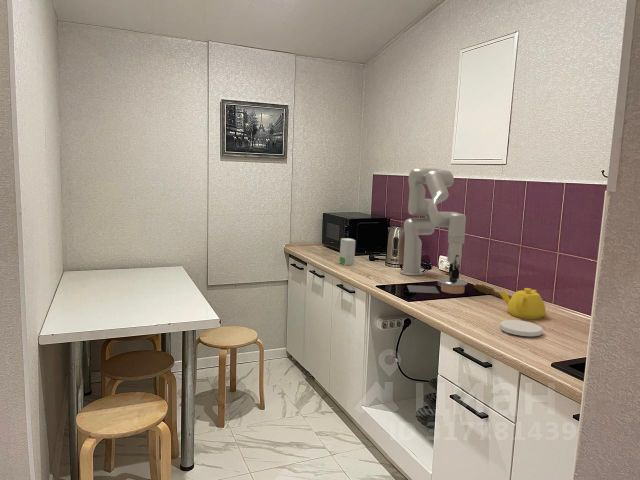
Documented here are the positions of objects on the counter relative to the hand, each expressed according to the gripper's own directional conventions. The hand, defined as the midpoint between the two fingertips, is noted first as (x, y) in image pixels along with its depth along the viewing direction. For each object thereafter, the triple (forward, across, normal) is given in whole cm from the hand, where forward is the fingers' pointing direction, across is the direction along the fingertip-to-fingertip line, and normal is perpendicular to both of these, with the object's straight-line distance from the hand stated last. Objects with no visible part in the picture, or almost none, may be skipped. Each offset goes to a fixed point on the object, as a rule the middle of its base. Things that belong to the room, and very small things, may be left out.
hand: (453, 276), depth 228 cm
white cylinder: (+8, -62, -52) cm, 81 cm away
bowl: (+8, 0, 0) cm, 8 cm away
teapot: (+8, +33, +21) cm, 40 cm away
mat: (+8, -1, -14) cm, 16 cm away
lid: (+3, 0, 0) cm, 3 cm away
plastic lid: (+8, +57, +13) cm, 59 cm away
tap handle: (+8, +4, +19) cm, 21 cm away
